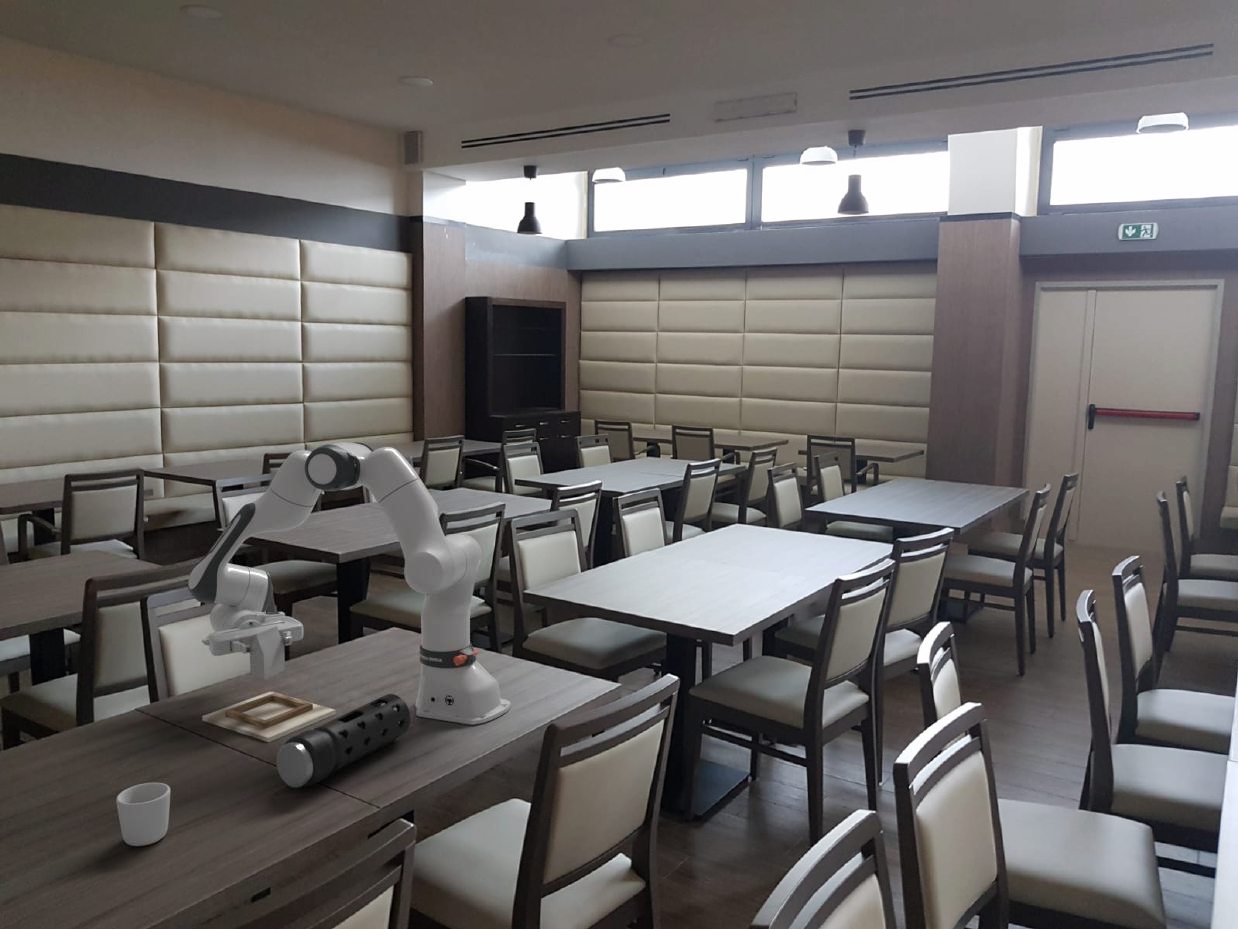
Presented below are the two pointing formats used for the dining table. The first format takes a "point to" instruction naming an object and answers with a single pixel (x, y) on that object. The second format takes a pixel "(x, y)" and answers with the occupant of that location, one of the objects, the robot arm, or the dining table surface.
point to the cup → (144, 813)
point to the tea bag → (267, 654)
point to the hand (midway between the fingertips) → (268, 645)
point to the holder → (269, 716)
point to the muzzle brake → (341, 741)
